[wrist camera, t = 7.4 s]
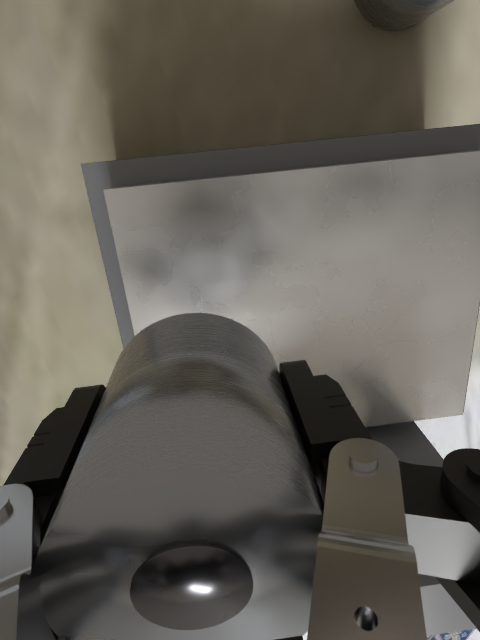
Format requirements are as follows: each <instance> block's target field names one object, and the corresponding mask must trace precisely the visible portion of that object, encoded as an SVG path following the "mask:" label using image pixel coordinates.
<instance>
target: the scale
mask: <svg viewBox="0 0 480 640" xmlns="http://www.w3.org/2000/svg"><path fill="white" fill-rule="evenodd" d="M473 150H480V124H474V125H464V126H454V127H444V128H434V129H424V130H414V131H404V132H394V133H384V134H374V135H364V136H354V137H344V138H334V139H324V140H314V141H304V142H294V143H284V144H274V145H264V146H254V147H244V148H234V149H224V150H214V151H204V152H194V153H184V154H174V155H164V156H154V157H144V158H134V159H124V160H114V161H104V162H95V163H85V164H81V167H82V171H83V175H84V180H85V184H86V188H87V193H88V197H89V201H90V206H91V210H92V214H93V219H94V223H95V227H96V232H97V236H98V240H99V245H100V249H101V253H102V258H103V262H104V266H105V271H106V275H107V279H108V284H109V288H110V292H111V297H112V301H113V305H114V310H115V314H116V318H117V323H118V327H119V331H120V336H121V340H122V344H123V349H124V348H125V347H126V345H127V344H128V343H129V342H130V341H131V339H132V338H133V337H134V336H135V335H134V330H133V326H132V321H131V316H130V312H129V307H128V302H127V298H126V293H125V288H124V284H123V279H122V274H121V270H120V265H119V261H118V256H117V251H116V247H115V242H114V237H113V233H112V228H111V223H110V219H109V214H108V209H107V205H106V200H105V196H104V191H103V190H104V189H107V188H113V187H123V186H133V185H142V184H152V183H162V182H171V181H181V180H191V179H201V178H210V177H220V176H230V175H240V174H249V173H259V172H269V171H278V170H288V169H298V168H308V167H317V166H327V165H337V164H347V163H356V162H366V161H376V160H385V159H395V158H405V157H415V156H424V155H434V154H444V153H454V152H463V151H473ZM479 306H480V302H479ZM478 312H479V308H478ZM477 319H478V315H477ZM476 326H477V322H476ZM475 332H476V328H475ZM474 339H475V335H474ZM473 345H474V342H473ZM472 352H473V348H472ZM471 359H472V355H471ZM470 365H471V362H470ZM469 372H470V368H469ZM468 379H469V375H468ZM467 385H468V382H467ZM466 392H467V388H466ZM465 398H466V395H465ZM464 405H465V402H464ZM463 412H464V408H463ZM365 428H366V430H367V431H368V433H369V435H370V436H371V438H372V440H374V441H377V442H380V443H382V444H383V445H385V446H387V447H388V448H389V449H390V450H392V451H393V452H394V454H395V455H396V457H397V459H398V460H400V461H402V462H406V463H411V464H418V465H427V466H436V467H442V466H443V461H444V460H443V458H442V457H441V456H440V455H439V453H438V452H437V451H436V449H435V448H434V447H433V446H432V444H431V443H430V442H429V440H428V439H427V438H426V436H425V435H424V434H423V433H422V431H421V430H420V429H419V427H418V426H417V425H416V424H415V422H414V421H409V422H401V423H393V424H386V425H378V426H370V427H365ZM418 575H419V582H420V590H421V597H422V605H423V613H424V620H425V628H426V635H427V636H429V635H436V634H443V633H449V632H456V631H463V630H470V629H476V627H475V625H474V624H473V623H472V622H471V621H470V619H469V618H468V617H467V616H466V614H465V613H464V612H463V611H462V610H461V608H460V607H459V606H458V605H457V603H456V602H455V601H454V600H453V599H452V597H451V596H450V595H449V594H448V592H447V591H446V590H445V589H444V588H443V586H442V585H441V584H440V583H439V581H438V580H437V579H436V577H435V576H429V575H423V574H418ZM307 635H308V631H307V632H306V633H305V634H304V635H303V636H302V637H303V640H307Z"/></svg>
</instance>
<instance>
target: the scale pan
mask: <svg viewBox="0 0 480 640" xmlns="http://www.w3.org/2000/svg"><path fill="white" fill-rule="evenodd" d="M103 191H104V196H105V200H106V205H107V209H108V214H109V219H110V223H111V228H112V233H113V237H114V242H115V247H116V251H117V256H118V261H119V265H120V270H121V274H122V279H123V284H124V288H125V293H126V298H127V302H128V307H129V312H130V316H131V321H132V326H133V330H134V335H137V334H138V333H139V332H140V331H142V330H143V329H144V328H146V327H148V326H149V325H151V324H153V323H155V322H157V321H159V320H161V319H164V318H167V317H170V316H174V315H179V314H185V313H209V314H214V315H220V316H223V317H226V318H229V319H232V320H234V321H236V322H238V323H241V324H242V325H244V326H246V327H247V328H249V329H250V330H252V331H253V332H254V333H255V334H256V335H257V336H259V337H260V339H261V340H262V341H263V342H264V343H265V344H266V346H267V347H268V349H269V350H270V352H271V353H272V356H273V358H274V360H275V362H276V365H277V368H278V371H279V365H280V363H282V362H290V361H298V360H306V362H307V364H308V366H309V368H310V370H311V372H312V374H313V376H317V375H324V374H326V375H328V376H329V377H331V378H332V379H334V380H335V381H337V382H338V383H339V384H340V386H341V387H342V389H343V391H344V392H345V394H346V397H348V399H349V401H350V403H351V406H353V408H354V409H355V411H356V413H357V414H358V416H359V418H360V419H361V421H362V423H363V425H364V426H365V427H370V426H378V425H386V424H393V423H401V422H409V421H417V420H425V419H432V418H440V417H448V416H456V415H463V408H464V402H465V395H466V388H467V382H468V375H469V368H470V362H471V355H472V348H473V342H474V335H475V328H476V322H477V315H478V308H479V302H480V150H473V151H463V152H454V153H444V154H434V155H424V156H415V157H405V158H395V159H385V160H376V161H366V162H356V163H347V164H337V165H327V166H317V167H308V168H298V169H288V170H278V171H269V172H259V173H249V174H240V175H230V176H220V177H210V178H201V179H191V180H181V181H171V182H162V183H152V184H142V185H133V186H123V187H113V188H107V189H104V190H103ZM279 374H280V372H279Z"/></svg>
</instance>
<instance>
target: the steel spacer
mask: <svg viewBox="0 0 480 640" xmlns="http://www.w3.org/2000/svg"><path fill="white" fill-rule="evenodd" d="M323 514H324V501H323V498H322V495H321V492H320V489H319V486H318V483H317V481H316V478H315V475H314V472H313V469H312V466H311V463H310V460H309V457H308V455H307V452H306V449H305V446H304V443H303V440H302V437H301V434H300V431H299V429H298V426H297V423H296V420H295V417H294V414H293V411H292V408H291V405H290V403H289V400H288V397H287V394H286V391H285V388H284V385H283V382H282V379H281V377H280V374H279V371H278V368H277V365H276V362H275V360H274V358H273V356H272V353H271V352H270V350H269V349H268V347H267V346H266V344H265V343H264V342H263V341H262V340H261V339H260V337H259V336H257V335H256V334H255V333H254V332H253V331H252V330H250V329H249V328H247V327H246V326H244V325H242V324H241V323H238V322H236V321H234V320H232V319H229V318H226V317H223V316H220V315H214V314H209V313H185V314H179V315H174V316H170V317H167V318H164V319H161V320H159V321H157V322H155V323H153V324H151V325H149V326H148V327H146V328H144V329H143V330H142V331H140V332H139V333H138V334H137V335H135V336H134V337H133V338H132V339H131V341H130V342H129V343H128V344H127V345H126V347H125V348H124V349H123V351H122V352H121V354H120V356H119V358H118V360H117V363H116V365H115V367H114V370H113V372H112V375H111V377H110V379H109V382H108V384H107V387H106V389H105V392H104V394H103V396H102V399H101V401H100V404H99V406H98V409H97V411H96V413H95V416H94V418H93V421H92V423H91V425H90V428H89V430H88V433H87V435H86V438H85V440H84V442H83V445H82V447H81V450H80V452H79V454H78V457H77V459H76V462H75V464H74V467H73V469H72V471H71V474H70V476H69V479H68V481H67V483H66V486H65V488H64V491H63V493H62V496H61V498H60V500H59V503H58V505H57V508H56V510H55V512H54V515H53V517H52V520H51V522H50V525H49V527H48V529H47V532H46V534H45V537H44V539H43V541H42V544H41V546H40V549H39V551H38V554H37V557H36V561H35V565H36V567H37V570H38V572H39V574H40V592H41V601H42V606H43V611H44V614H45V617H46V620H47V622H48V624H49V626H50V628H51V629H52V630H53V631H54V633H55V634H56V635H57V636H64V635H66V637H67V640H276V639H282V638H289V637H295V636H301V635H302V636H303V635H304V634H305V633H306V632H307V631H308V626H309V617H310V607H311V598H312V589H313V579H314V570H315V561H316V551H317V542H318V535H319V531H322V524H323Z"/></svg>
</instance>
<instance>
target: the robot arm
mask: <svg viewBox="0 0 480 640" xmlns="http://www.w3.org/2000/svg"><path fill="white" fill-rule="evenodd" d="M279 372H280V377H281V379H282V382H283V385H284V388H285V391H286V394H287V397H288V400H289V403H290V405H291V408H292V411H293V414H294V417H295V420H296V423H297V426H298V429H299V431H300V434H301V437H302V440H303V443H304V446H305V449H306V452H307V455H308V457H309V460H310V463H311V466H312V469H313V472H314V475H315V478H316V481H317V483H318V486H319V489H320V492H321V495H322V498H323V501H324V514H323V524H322V531H319V535H318V542H317V551H316V561H315V570H314V579H313V589H312V598H311V607H310V617H309V626H308V635H307V640H427V635H426V628H425V620H424V613H423V605H422V597H421V590H420V582H419V575H418V574H423V575H429V576H435V577H436V579H437V580H438V581H439V583H440V584H441V585H442V586H443V588H444V589H445V590H446V591H447V592H448V594H449V595H450V596H451V597H452V599H453V600H454V601H455V602H456V603H457V605H458V606H459V607H460V608H461V610H462V611H463V612H464V613H465V614H466V616H467V617H468V618H469V619H470V621H471V622H472V623H473V624H474V625H475V627H476V628H477V629H478V630H479V632H480V450H479V449H458V450H455V451H452V452H450V453H449V454H448V455H447V456H446V457H445V458H444V461H443V466H442V467H436V466H427V465H418V464H411V463H406V462H402V461H400V460H398V459H397V457H396V455H395V454H394V452H393V451H392V450H390V449H389V448H388V447H387V446H385V445H383V444H382V443H380V442H377V441H374V440H372V438H371V436H370V435H369V433H368V431H367V430H366V428H365V426H364V425H363V423H362V421H361V419H360V418H359V416H358V414H357V413H356V411H355V409H354V408H353V406H351V403H350V401H349V399H348V397H346V394H345V392H344V391H343V389H342V387H341V386H340V384H339V383H338V382H337V381H335V380H334V379H332V378H331V377H329V376H328V375H326V374H324V375H317V376H313V374H312V372H311V370H310V368H309V366H308V364H307V362H306V360H298V361H290V362H282V363H280V365H279ZM105 389H106V388H105V386H104V385H96V386H88V387H80V388H75V389H74V390H73V392H72V394H71V396H70V398H69V399H68V401H67V403H66V405H65V407H62V408H56V409H55V410H54V411H53V412H52V413H51V414H49V415H48V416H47V417H46V418H45V419H44V420H42V422H41V424H40V425H39V427H38V429H37V430H36V432H35V434H34V437H32V439H31V440H30V442H29V444H28V445H27V446H28V447H27V448H26V449H25V450H24V452H23V454H22V455H21V457H20V459H19V460H18V462H17V464H16V465H15V467H14V469H13V470H12V472H11V474H10V475H9V477H8V479H7V480H6V482H5V483H4V485H3V486H1V487H0V640H67V637H66V635H64V636H57V635H56V634H55V633H54V631H53V630H52V629H51V628H50V626H49V624H48V622H47V620H46V617H45V614H44V611H43V606H42V601H41V592H40V574H39V572H38V570H37V567H36V565H35V561H36V557H37V554H38V551H39V549H40V546H41V544H42V541H43V539H44V537H45V534H46V532H47V529H48V527H49V525H50V522H51V520H52V517H53V515H54V512H55V510H56V508H57V505H58V503H59V500H60V498H61V496H62V493H63V491H64V488H65V486H66V483H67V481H68V479H69V476H70V474H71V471H72V469H73V467H74V464H75V462H76V459H77V457H78V454H79V452H80V450H81V447H82V445H83V442H84V440H85V438H86V435H87V433H88V430H89V428H90V425H91V423H92V421H93V418H94V416H95V413H96V411H97V409H98V406H99V404H100V401H101V399H102V396H103V394H104V392H105ZM276 640H303V637H302V635H301V636H295V637H289V638H282V639H276Z"/></svg>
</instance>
